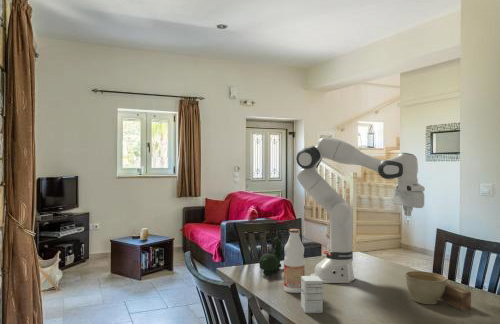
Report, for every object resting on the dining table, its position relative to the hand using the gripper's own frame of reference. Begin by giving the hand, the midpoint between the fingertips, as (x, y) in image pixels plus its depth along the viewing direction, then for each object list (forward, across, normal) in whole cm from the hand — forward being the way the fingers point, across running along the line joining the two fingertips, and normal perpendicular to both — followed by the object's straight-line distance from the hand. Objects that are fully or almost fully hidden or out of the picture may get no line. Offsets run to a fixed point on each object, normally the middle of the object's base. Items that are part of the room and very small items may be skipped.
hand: (407, 215), depth 192 cm
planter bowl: (+34, +19, -4) cm, 40 cm away
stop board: (+34, +20, +6) cm, 40 cm away
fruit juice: (+34, -5, -55) cm, 65 cm away
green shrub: (+34, -37, -57) cm, 76 cm away
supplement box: (+34, +20, -56) cm, 69 cm away
